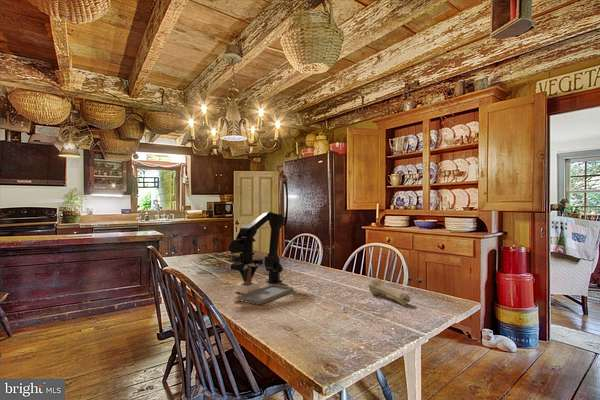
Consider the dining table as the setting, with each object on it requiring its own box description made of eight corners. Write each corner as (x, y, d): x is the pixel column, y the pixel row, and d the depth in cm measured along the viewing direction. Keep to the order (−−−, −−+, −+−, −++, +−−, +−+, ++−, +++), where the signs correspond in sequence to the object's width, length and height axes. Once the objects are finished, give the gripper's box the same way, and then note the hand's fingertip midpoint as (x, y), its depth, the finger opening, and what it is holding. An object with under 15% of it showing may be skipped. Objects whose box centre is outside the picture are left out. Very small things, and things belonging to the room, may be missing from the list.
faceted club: (379, 289, 159) (418, 305, 137) (366, 296, 156) (404, 314, 133) (375, 273, 158) (414, 287, 136) (363, 280, 154) (400, 295, 132)
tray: (272, 287, 168) (272, 283, 168) (293, 291, 160) (293, 287, 160) (237, 299, 147) (237, 296, 147) (259, 305, 139) (259, 301, 139)
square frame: (247, 287, 167) (247, 280, 167) (260, 290, 162) (259, 282, 162) (235, 292, 160) (235, 284, 160) (247, 294, 155) (247, 286, 155)
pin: (247, 289, 164) (247, 267, 164) (253, 290, 162) (252, 268, 162) (242, 291, 160) (242, 268, 161) (247, 292, 158) (247, 269, 158)
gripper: (248, 247, 173) (248, 275, 173) (223, 252, 158) (223, 282, 158) (263, 248, 167) (263, 277, 167) (238, 254, 152) (238, 285, 152)
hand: (247, 280), depth 161 cm, fingers closed on pin, 4 cm apart
